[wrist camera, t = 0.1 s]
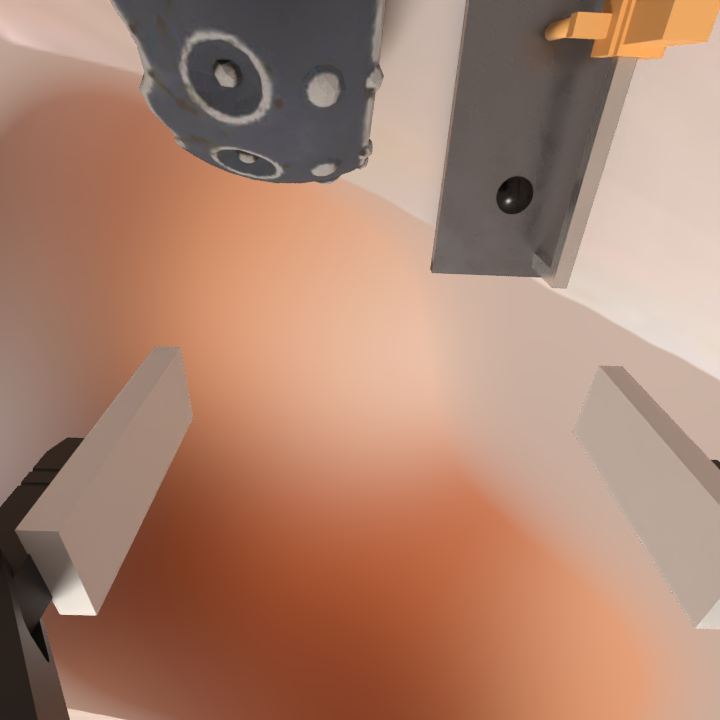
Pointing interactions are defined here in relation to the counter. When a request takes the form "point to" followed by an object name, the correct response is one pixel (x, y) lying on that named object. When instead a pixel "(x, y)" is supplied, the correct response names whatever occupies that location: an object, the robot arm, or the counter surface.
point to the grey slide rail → (588, 173)
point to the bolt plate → (514, 136)
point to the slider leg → (639, 26)
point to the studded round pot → (263, 81)
